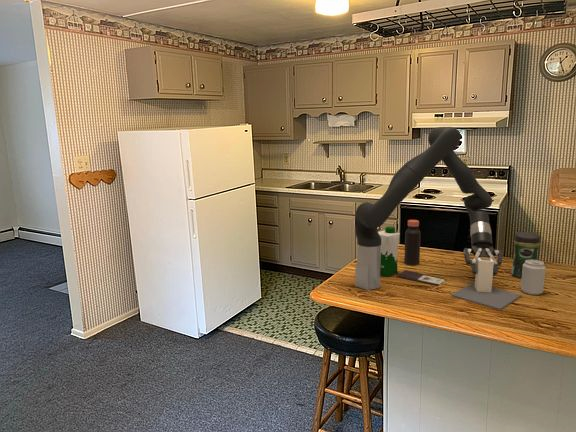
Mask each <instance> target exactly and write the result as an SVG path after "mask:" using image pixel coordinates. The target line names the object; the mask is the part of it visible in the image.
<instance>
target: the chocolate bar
mask: <svg viewBox="0 0 576 432" xmlns="http://www.w3.org/2000/svg"><path fill="white" fill-rule="evenodd" d="M395 278H398V279H403V280H408V281H413V282H417V283H421V284H424V285H431V286H433V287H434V286H435V287H439V286H440V285H442V284H443V283H444V282H446V281H447V278H444V277H440V276H435V275H430V274H426V273H420V272H415V271H411V270H403V271H402V272H400V273H398V274H395Z"/></svg>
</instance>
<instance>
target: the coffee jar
mask: <svg viewBox="0 0 576 432" xmlns="http://www.w3.org/2000/svg"><path fill="white" fill-rule="evenodd" d="M540 237H541V236H540V234H539V233H538V232H537V233H536V232H528V231H516V233H515V235H514V239H513V245H514V255H513V259H512V266H511V275H512V276H514V277H517V278H521V279H522V268H523V264H524V263H525V261H526V260H538V252H539V251H538V250H539V247H540V246H541V238H540Z"/></svg>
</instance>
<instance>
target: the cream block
mask: <svg viewBox="0 0 576 432" xmlns="http://www.w3.org/2000/svg"><path fill="white" fill-rule="evenodd" d="M475 264H476V268H477V274H476V275H475V276H474V277H475V278H474V283H475V289H476V291H477V292H491V290H492V287H493V277H494V276H493V266H494V261H493V260H492V259H491V258H488V257H478V258H477V261H476V263H475Z"/></svg>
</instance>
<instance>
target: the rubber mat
mask: <svg viewBox="0 0 576 432" xmlns="http://www.w3.org/2000/svg"><path fill="white" fill-rule="evenodd" d="M450 297H453V298H457V299H460V300H463V301H466V302H470V303H474V304H477V305H481V306H484V307H488V308H491V309H494V310H498V311H502V310H503V309H505V308H506V307H508V306H509V305H510V304H513V303H514V302H515V301H517V300H518V299H519V298H521V297H522V294H521V293H517V292H511V291H507V290H504V289H500V288H496V287H493V286H492V290H491V292H477V291H476V289H475V282H472V283H470V284H468V285H467V286H464V287H463V288H461V289H458V290H457V291H455V292H453V293H451V294H450Z"/></svg>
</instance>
